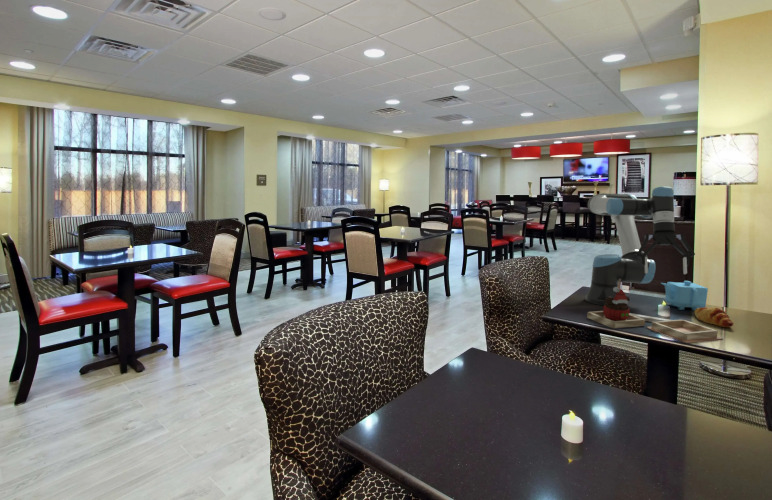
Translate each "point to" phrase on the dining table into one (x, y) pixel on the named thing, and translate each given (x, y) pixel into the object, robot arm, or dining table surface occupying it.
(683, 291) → the teapot
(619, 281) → the cake
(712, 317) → the croissant
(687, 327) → the square wooden frames
